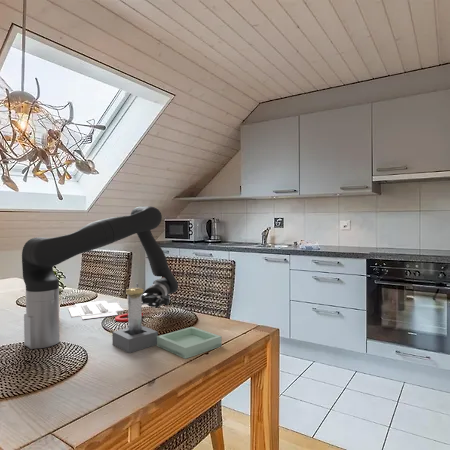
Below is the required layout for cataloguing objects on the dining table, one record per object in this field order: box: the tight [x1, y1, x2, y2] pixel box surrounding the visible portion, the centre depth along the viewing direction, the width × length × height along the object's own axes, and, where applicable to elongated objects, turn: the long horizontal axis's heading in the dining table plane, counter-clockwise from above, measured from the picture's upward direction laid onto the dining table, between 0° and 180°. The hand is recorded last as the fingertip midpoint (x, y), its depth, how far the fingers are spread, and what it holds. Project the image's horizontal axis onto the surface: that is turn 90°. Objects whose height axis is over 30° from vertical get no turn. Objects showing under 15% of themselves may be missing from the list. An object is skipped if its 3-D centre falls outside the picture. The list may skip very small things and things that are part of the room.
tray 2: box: [67, 299, 125, 321], centre depth 154 cm, size 20×28×4 cm
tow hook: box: [114, 282, 144, 323], centre depth 140 cm, size 9×14×10 cm
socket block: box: [111, 325, 159, 354], centre depth 112 cm, size 10×10×4 cm
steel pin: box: [125, 287, 144, 336], centre depth 112 cm, size 5×5×17 cm
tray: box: [156, 326, 223, 360], centre depth 110 cm, size 14×14×3 cm
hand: (143, 304), depth 121 cm, fingers open, 8 cm apart
